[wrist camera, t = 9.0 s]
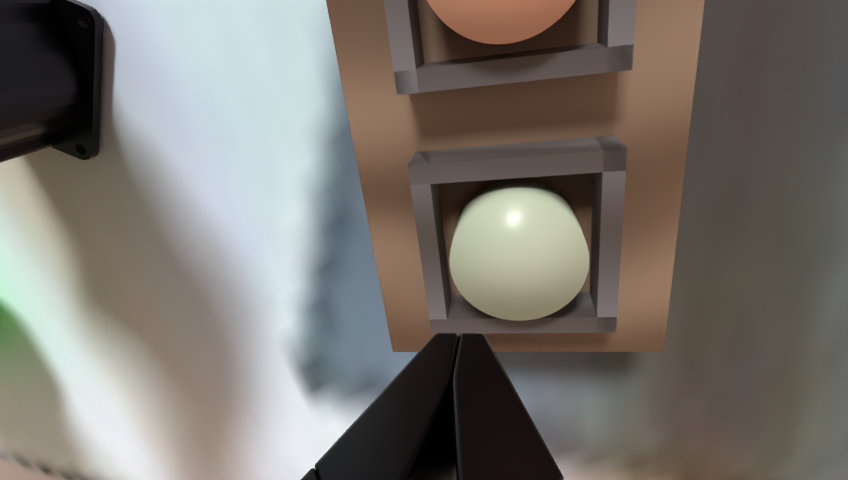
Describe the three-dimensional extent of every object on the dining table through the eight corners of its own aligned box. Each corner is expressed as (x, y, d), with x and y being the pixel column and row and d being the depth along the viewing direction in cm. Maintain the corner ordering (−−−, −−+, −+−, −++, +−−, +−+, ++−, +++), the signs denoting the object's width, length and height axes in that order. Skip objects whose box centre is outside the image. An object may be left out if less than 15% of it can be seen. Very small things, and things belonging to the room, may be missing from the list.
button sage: (579, 288, 16) (587, 319, 14) (460, 290, 17) (456, 321, 15) (581, 174, 14) (591, 195, 13) (449, 183, 15) (442, 204, 13)
